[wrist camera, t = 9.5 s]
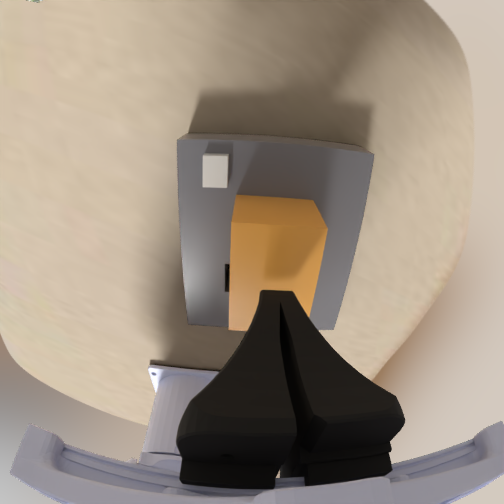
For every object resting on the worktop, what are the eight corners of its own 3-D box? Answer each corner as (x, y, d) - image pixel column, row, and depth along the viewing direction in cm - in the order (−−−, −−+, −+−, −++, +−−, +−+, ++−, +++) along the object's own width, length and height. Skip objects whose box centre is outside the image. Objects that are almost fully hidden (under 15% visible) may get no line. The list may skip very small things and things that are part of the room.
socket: (327, 307, 22) (335, 335, 19) (193, 301, 22) (186, 330, 19) (359, 145, 16) (378, 156, 13) (187, 133, 16) (174, 141, 13)
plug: (294, 274, 20) (305, 332, 15) (234, 271, 20) (228, 330, 15) (307, 188, 17) (327, 228, 12) (238, 183, 17) (231, 222, 12)
